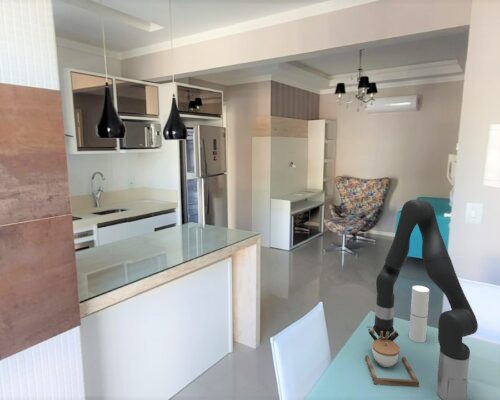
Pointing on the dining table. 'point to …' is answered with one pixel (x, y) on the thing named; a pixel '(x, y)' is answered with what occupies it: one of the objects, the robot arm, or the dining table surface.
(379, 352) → the lidded jar
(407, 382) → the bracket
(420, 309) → the cylindrical container
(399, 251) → the robot arm
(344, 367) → the dining table surface
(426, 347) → the dining table surface
